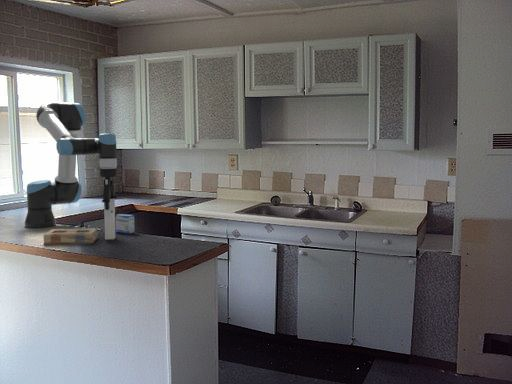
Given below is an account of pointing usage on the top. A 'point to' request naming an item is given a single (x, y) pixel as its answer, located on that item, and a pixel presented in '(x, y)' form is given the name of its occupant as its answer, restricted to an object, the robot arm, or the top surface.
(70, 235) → the socket block
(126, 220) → the medicine box
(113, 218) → the plug
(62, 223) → the top surface
